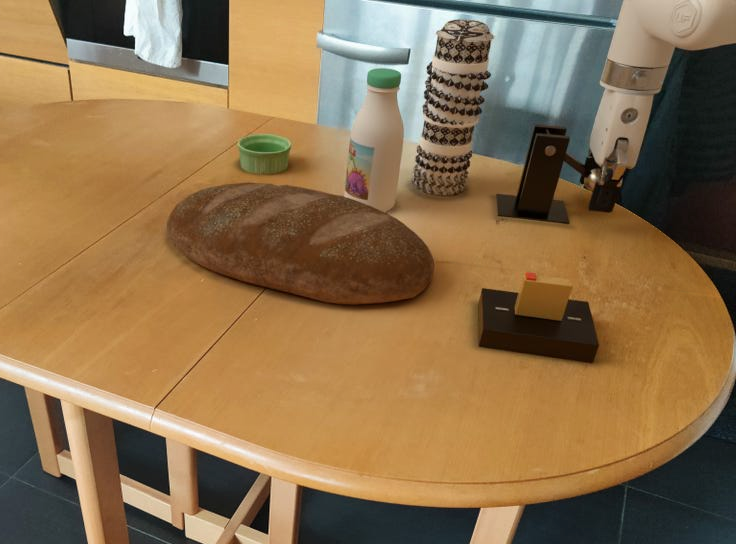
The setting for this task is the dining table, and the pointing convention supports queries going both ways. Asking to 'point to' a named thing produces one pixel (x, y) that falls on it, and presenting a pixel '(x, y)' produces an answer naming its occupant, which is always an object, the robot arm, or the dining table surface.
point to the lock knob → (543, 296)
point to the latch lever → (581, 168)
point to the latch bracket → (539, 179)
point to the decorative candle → (452, 106)
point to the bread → (302, 243)
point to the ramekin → (264, 153)
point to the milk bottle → (376, 143)
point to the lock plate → (536, 329)
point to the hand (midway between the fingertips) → (594, 197)
